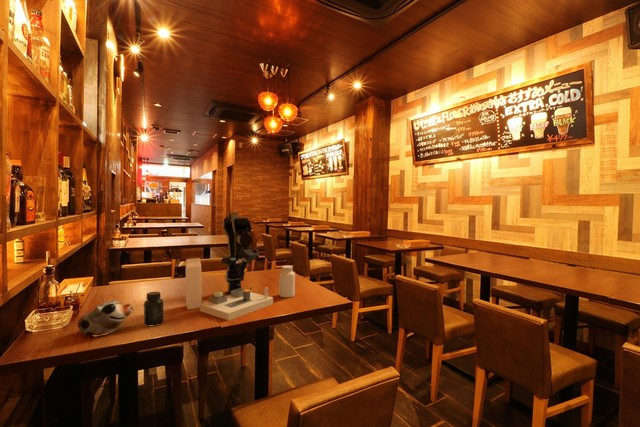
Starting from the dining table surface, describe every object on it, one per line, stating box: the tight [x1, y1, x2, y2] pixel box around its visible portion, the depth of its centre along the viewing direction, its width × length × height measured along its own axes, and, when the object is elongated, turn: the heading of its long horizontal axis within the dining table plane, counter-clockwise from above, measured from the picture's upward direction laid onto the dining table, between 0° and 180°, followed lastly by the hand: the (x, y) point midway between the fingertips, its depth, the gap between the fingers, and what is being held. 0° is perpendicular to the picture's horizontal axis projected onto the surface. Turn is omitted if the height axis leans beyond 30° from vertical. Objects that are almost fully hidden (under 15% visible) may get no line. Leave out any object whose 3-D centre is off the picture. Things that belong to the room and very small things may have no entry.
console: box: [199, 286, 274, 322], centre depth 147 cm, size 19×26×8 cm
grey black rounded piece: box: [77, 300, 134, 336], centre depth 120 cm, size 15×12×14 cm
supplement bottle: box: [143, 291, 165, 326], centre depth 128 cm, size 7×7×12 cm
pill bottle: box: [278, 265, 296, 299], centre depth 166 cm, size 8×8×15 cm
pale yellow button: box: [213, 291, 224, 298], centre depth 146 cm, size 4×4×2 cm
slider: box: [243, 288, 251, 301], centre depth 148 cm, size 3×2×4 cm
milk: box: [185, 257, 203, 310], centre depth 148 cm, size 6×6×22 cm
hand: (241, 276), depth 156 cm, fingers closed
